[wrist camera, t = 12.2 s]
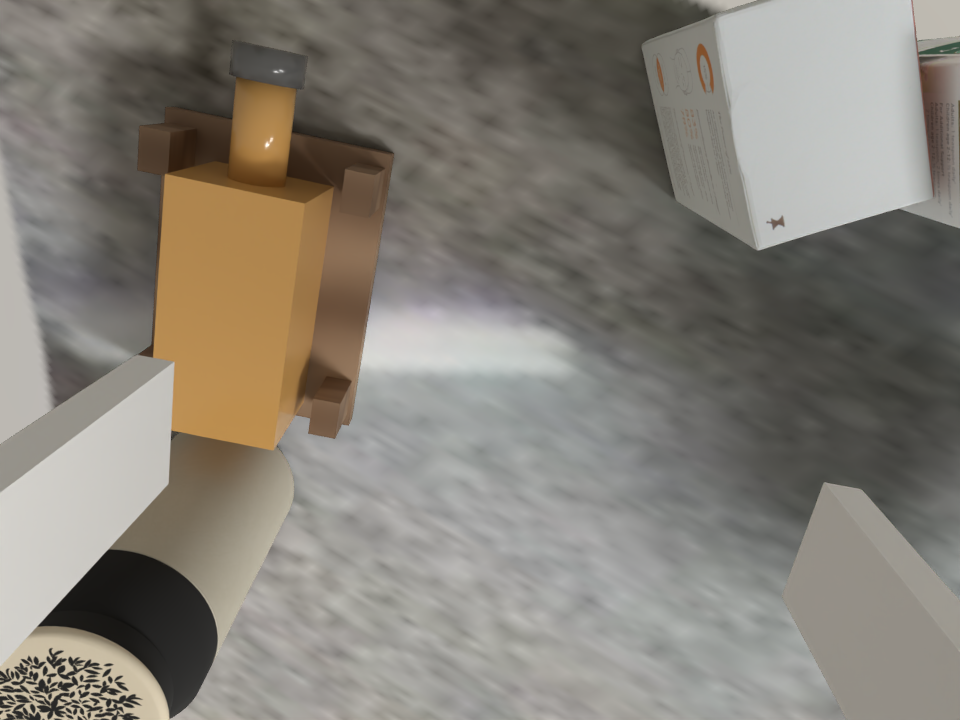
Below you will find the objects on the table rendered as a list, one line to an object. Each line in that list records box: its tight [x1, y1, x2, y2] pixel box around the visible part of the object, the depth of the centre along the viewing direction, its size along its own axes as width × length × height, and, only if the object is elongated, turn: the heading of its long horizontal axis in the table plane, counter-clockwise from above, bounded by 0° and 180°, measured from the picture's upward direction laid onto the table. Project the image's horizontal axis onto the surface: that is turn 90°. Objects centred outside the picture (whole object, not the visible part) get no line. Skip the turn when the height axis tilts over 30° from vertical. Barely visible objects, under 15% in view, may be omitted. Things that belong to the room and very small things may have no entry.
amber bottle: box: [153, 40, 334, 450], centre depth 36 cm, size 18×6×6 cm, turn 168°
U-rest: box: [137, 107, 394, 439], centre depth 39 cm, size 15×11×4 cm
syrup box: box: [899, 36, 960, 228], centre depth 30 cm, size 6×6×14 cm
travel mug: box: [0, 432, 294, 720], centre depth 37 cm, size 8×8×18 cm
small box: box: [642, 0, 934, 251], centre depth 31 cm, size 8×6×13 cm
